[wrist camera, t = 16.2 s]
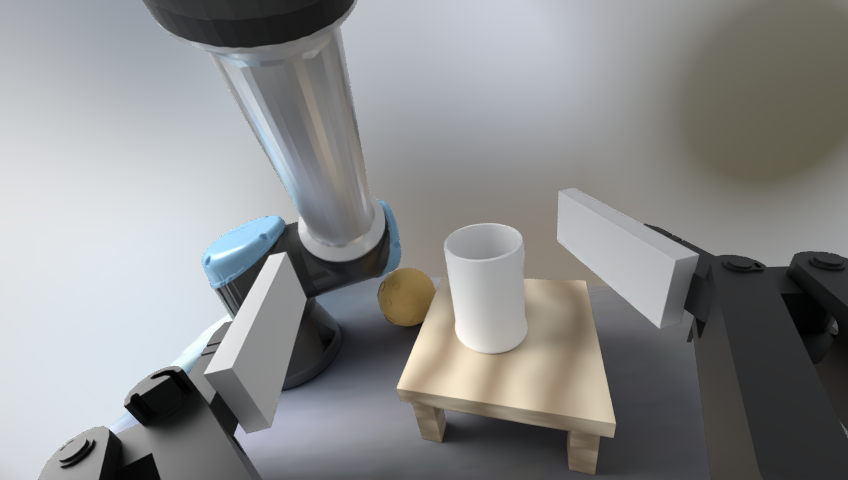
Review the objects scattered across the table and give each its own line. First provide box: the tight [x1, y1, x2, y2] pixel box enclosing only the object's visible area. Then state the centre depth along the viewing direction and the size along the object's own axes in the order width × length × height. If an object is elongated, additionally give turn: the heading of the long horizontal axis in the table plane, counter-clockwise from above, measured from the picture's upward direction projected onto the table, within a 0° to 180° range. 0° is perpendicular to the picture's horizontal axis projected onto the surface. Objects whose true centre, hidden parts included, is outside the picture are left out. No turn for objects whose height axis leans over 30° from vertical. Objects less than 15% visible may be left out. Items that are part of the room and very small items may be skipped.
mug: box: [444, 223, 528, 354], centre depth 37 cm, size 12×8×12 cm
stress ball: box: [378, 268, 436, 326], centre depth 55 cm, size 10×10×10 cm
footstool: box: [396, 276, 616, 475], centre depth 40 cm, size 20×20×10 cm
